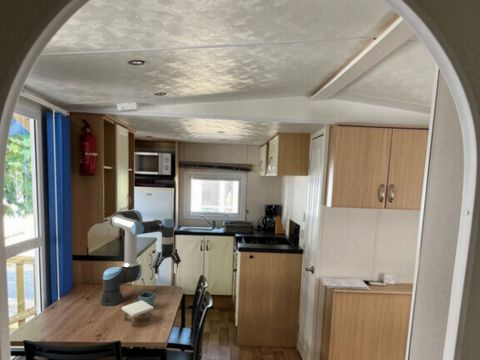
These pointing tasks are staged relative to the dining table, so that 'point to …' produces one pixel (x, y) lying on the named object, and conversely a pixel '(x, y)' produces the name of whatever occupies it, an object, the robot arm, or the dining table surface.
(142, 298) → the flower pot
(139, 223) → the robot arm
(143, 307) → the footstool
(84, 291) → the dining table surface
